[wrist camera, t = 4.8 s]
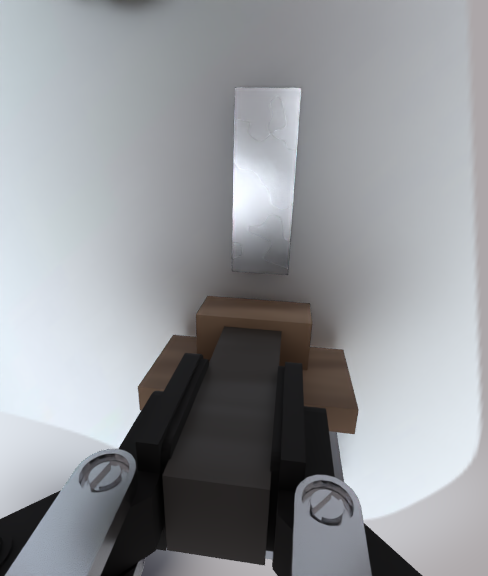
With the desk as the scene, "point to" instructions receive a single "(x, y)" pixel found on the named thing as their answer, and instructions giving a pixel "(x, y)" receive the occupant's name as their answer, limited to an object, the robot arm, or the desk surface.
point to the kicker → (239, 420)
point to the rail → (264, 177)
